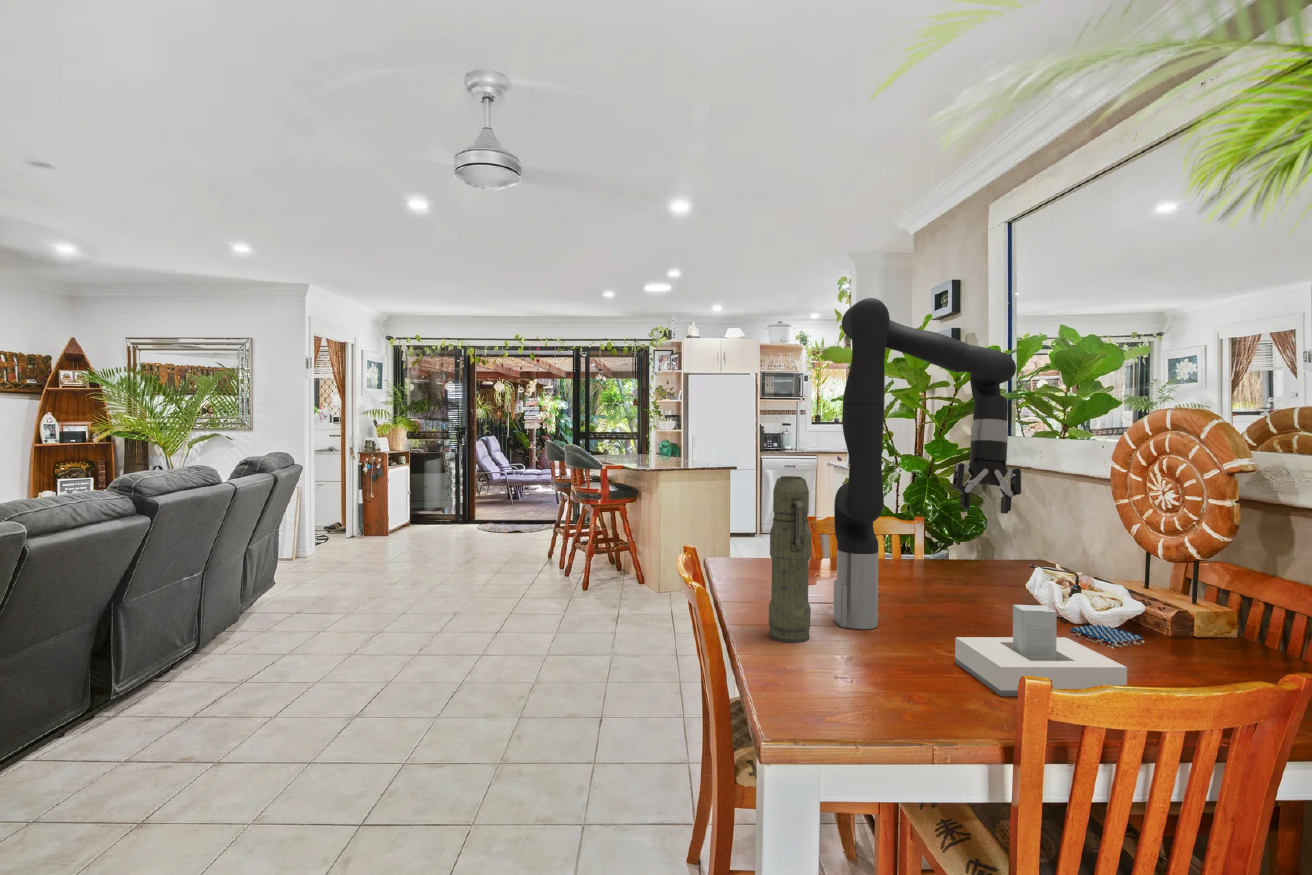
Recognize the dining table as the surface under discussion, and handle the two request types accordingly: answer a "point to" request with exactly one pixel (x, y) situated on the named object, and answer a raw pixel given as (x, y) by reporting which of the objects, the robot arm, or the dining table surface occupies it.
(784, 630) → the thermos
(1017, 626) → the skincare box
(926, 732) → the dining table surface
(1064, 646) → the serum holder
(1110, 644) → the woven mat
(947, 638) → the dining table surface
